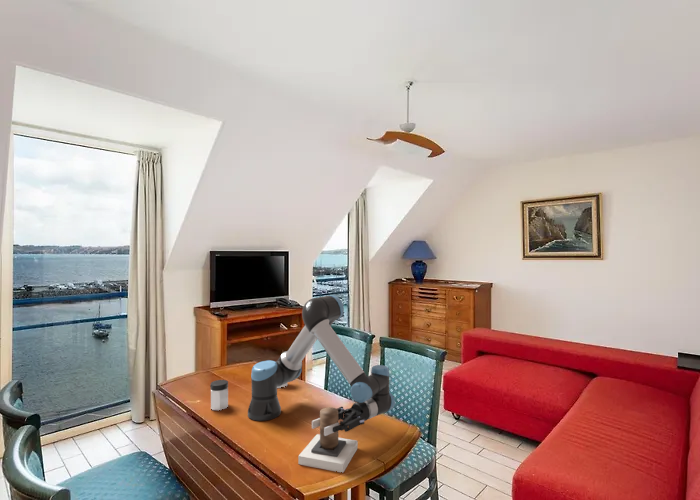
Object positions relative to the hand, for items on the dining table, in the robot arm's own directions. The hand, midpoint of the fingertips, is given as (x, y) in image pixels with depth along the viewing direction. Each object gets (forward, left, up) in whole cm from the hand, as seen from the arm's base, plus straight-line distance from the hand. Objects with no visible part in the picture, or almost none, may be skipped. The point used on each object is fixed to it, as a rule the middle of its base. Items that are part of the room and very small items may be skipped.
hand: (318, 428), depth 139 cm
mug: (-52, +63, -12) cm, 82 cm away
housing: (+2, +4, -12) cm, 13 cm away
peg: (+2, +4, -11) cm, 12 cm away
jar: (-65, +29, -12) cm, 72 cm away
